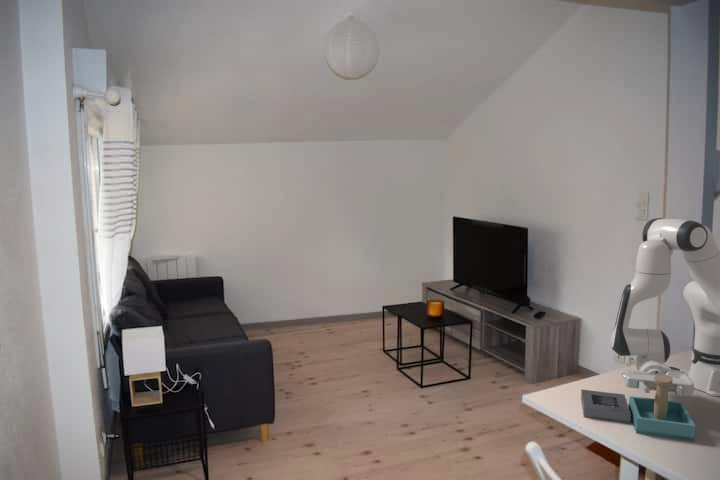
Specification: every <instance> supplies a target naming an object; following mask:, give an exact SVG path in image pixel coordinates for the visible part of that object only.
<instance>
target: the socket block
mask: <svg viewBox="0 0 720 480" xmlns="http://www.w3.org/2000/svg"><path fill="white" fill-rule="evenodd" d="M580 401H581V407H582V408H581V409H582V413H583V415H582V416H583V418H589V419H596V420H603V421H611V422H617V423H625V424H630V423H631V416H630V414H631V413H630V410H629V403H628V401H627V399H626V396H625V394H623V393H616V392H615V393H614V392H607V391H606V392H605V391H597V390H589V389H582V388H581V391H580ZM612 406H614V407H612Z"/></svg>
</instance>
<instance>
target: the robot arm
mask: <svg viewBox="0 0 720 480" xmlns="http://www.w3.org/2000/svg"><path fill="white" fill-rule="evenodd" d="M674 251H682V255H683V258H684V261H685V265H686V267H687V270H688V274H689V275H690V278H691V279H692V280H691V281H689V282H688V283H687V284H686V285H685V287H684V288H683V293H682V294H683V299H684V300H685V302H686V303H687V305H688V307H689V308H690V310H691V314H692V318H693V321H694V322H693V323H694V327H695V329H694V340H693V341H694V343H693V346H692V349H691V355H690V356H691V357H690V358H691V359H690V360H691V364H690V368H689V371H688V375H687V374H685V371H684V370H683V369H682V368H679V367H678V368H677V367H673V366H671V365H667V364H665V363H666V362H668V359H670V355H671V344H670V340H669V338H668V336H667V334H665V332H664V331H663V330H661V329H655V328H654V329H652V328H651V329H650V328H631V327H629V326H630V325H629V324H630V322H631V321H630V320H631V316H632V312H633V309H634V307H635V306H636V305H637V304H639V303H641V302H644V301H646V300H650V299H653V298H657V297H659V296H662V295H663V294H664V293H665V292H666V291H667V290H668V289H669V287H670V285H671V280H672V255H673V253H674ZM634 271H635V273H634V275H633V276H634V277H633V279H632V281H631V282H630V283H629V284H626V285H625V287H624V289H623V291H622V294H621V299H620V302H619V306H618V310H617V315H616V320H615V323H614V324H615V325H614V328H613V330H612V333H611V336H610V347H611V349H612V350H613V352H615V353H616V354H617V355H619V356H620V357H627V356H628V357H629V356H630V357H631V356H634V362H635V364H634V365H635V368H636V370H633V369H630V370H626V371H623V372H621V375H622V377H623V378H624V385H625V387H627V388H631V389H637V390H638V389H639V390H641V391H643V392H644V393H647V394H650V393H651V392H650V391H655V392H656V389H657V384H656V383H655V382H654V377H655V376H656V375H659V374H664V375H668V376H670V377H672V379H673V381H672V384H671V385H670V386H669V388H668V393H674V395H675V397H682V394H683V395H693V394H694V392H695V389H696V390H698V391H702V392H704V393H707V394H709V395H711V396H714V397H720V248H719V245H718V243H717V241H716V238H715V236H714V235H713V233H712V231H711V229H710V228H709V227H708V226H706V225H704V224H702V223H700V222H698V221H695V220H688V219H684V218H664V217H663V218H662V217H658V218H657V217H655V218H651V219H650V220H648V221H647V222H646V223H645V225H644V227H643V229H642V243H640V244H639V247H638V250H637V253H636V259H635V270H634Z"/></svg>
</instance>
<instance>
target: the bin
mask: <svg viewBox="0 0 720 480" xmlns="http://www.w3.org/2000/svg"><path fill="white" fill-rule="evenodd" d="M654 402H655V398H651V397H650V398H648V397H643V396H642V397H641V396H633V395H629V398H628V407H629V410H630V413H631V414H630V415H631V416H630V419H631V418H632V419H631V421H632V424H633V428H634V430H635V433H636V434H641V435H647V436H649V435H650V436H655V437H663V438H669V439H678V440H683V441H690V442H694V441H695V436H696V435H695V434H696V424H695V422H694V420H693V419H692V418H691V415H690V413H689V412H688V410H687V408H686V406H685V405H684V402H681V401H674V400H668V410H667V416H666V418H665V419H666V421H665V420H657V419H654Z"/></svg>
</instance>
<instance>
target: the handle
mask: <svg viewBox="0 0 720 480" xmlns="http://www.w3.org/2000/svg"><path fill="white" fill-rule="evenodd" d="M672 381H673V379H672V377H670V376H668V375H664V374H659V375H656V376H655V377H654V382H655V383H656V384H657V389H656V391H655V396H654V397H655V398H654V399H655V402H654V419H657V420H665V421H666V419H665V418H666V416H667V410H668V401H669V392H668V388H669V386H670V385H671V384H672Z"/></svg>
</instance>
